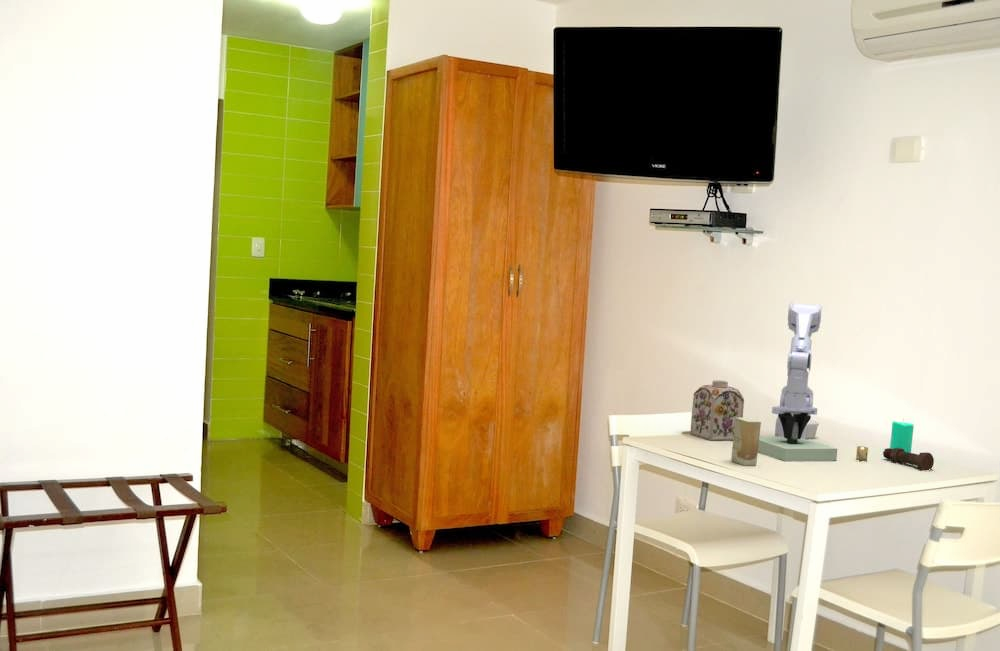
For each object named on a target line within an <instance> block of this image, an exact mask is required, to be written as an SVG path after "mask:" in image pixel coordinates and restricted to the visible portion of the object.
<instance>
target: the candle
mask: <svg viewBox="0 0 1000 651" xmlns="http://www.w3.org/2000/svg"><path fill="white" fill-rule="evenodd" d="M891 425H892V426H891V431H890V432H891V433H890V443H889V444H890V446H889V448H890V449H894V448H903V449H904V450H905V452H909V453H912V446H913V436H914V435H913V433H914V426H915V425H914V423H908V422H904V418H902V422H900V421H896V420H895V421H894V420H893V421H892V423H891Z"/></svg>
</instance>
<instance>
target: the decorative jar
mask: <svg viewBox="0 0 1000 651" xmlns="http://www.w3.org/2000/svg"><path fill="white" fill-rule="evenodd" d="M692 398H693V399H692V409H691V418H690V434H691V435H694V436H697V437H699V438H703V439H705V440H708V441H733V438H734V429H735V420H736V418H739V417H740V418H744V416H743V415H744V408H745V407H744V405H745V398H744V396H743V394H741V391H740V390H739V388H736V387H732V386H729V385H728V381H727V380H722V379H721V380H717V379H715V380H714V379H713V380H712V384H704V385H701V386H700V387H699V388H698V389H697V390H695V391H694V393H693V397H692Z"/></svg>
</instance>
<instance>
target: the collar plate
mask: <svg viewBox="0 0 1000 651" xmlns="http://www.w3.org/2000/svg"><path fill="white" fill-rule="evenodd" d="M758 453H760V454H763V455H765V456H768V457H770V458H774V459H776V460H777V459H778V460H780V461H783V462H831V461H832V462H836V461H837V458H838V448H836V447H834V446H831V445H830V446H829V445H825V444H822V443H819V442H816V441H813V440H811V439H803V438H801V439H798V443H797V444H788V443H787V439H786V438H784V437H775V436H759V445H758ZM834 460H835V461H834Z"/></svg>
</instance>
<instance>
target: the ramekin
mask: <svg viewBox="0 0 1000 651" xmlns="http://www.w3.org/2000/svg"><path fill="white" fill-rule="evenodd" d="M819 424H820V423H819V422H818V421H816V420H812V419H810V420H809V422H808V423H807V425H806V436H805V439H807V440H813V439H815V437H816V435H817V430H818V427H819Z"/></svg>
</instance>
